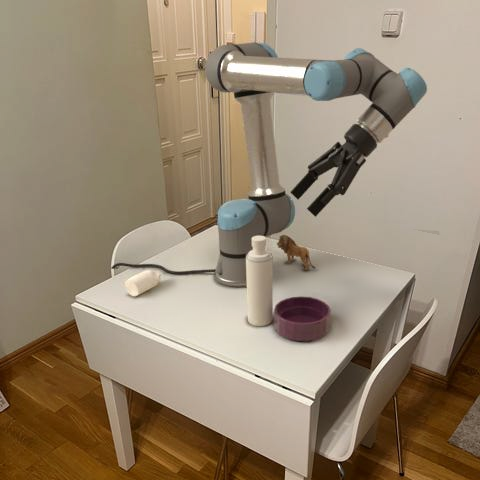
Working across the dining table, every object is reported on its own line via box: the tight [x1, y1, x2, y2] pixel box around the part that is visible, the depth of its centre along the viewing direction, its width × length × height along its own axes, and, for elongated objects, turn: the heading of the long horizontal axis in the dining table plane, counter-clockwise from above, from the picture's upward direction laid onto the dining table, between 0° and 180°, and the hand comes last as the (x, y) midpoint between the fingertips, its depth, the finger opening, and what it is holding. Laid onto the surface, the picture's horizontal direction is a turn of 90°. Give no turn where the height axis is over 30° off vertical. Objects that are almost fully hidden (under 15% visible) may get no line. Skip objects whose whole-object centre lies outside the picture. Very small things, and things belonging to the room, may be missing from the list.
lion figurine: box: [276, 234, 316, 271], centre depth 159 cm, size 15×5×9 cm, turn 50°
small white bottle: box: [124, 269, 162, 297], centre depth 149 cm, size 6×12×6 cm, turn 141°
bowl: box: [273, 295, 332, 342], centre depth 126 cm, size 14×14×6 cm
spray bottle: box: [246, 236, 274, 327], centre depth 126 cm, size 7×7×25 cm
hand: (302, 204), depth 118 cm, fingers open, 13 cm apart
